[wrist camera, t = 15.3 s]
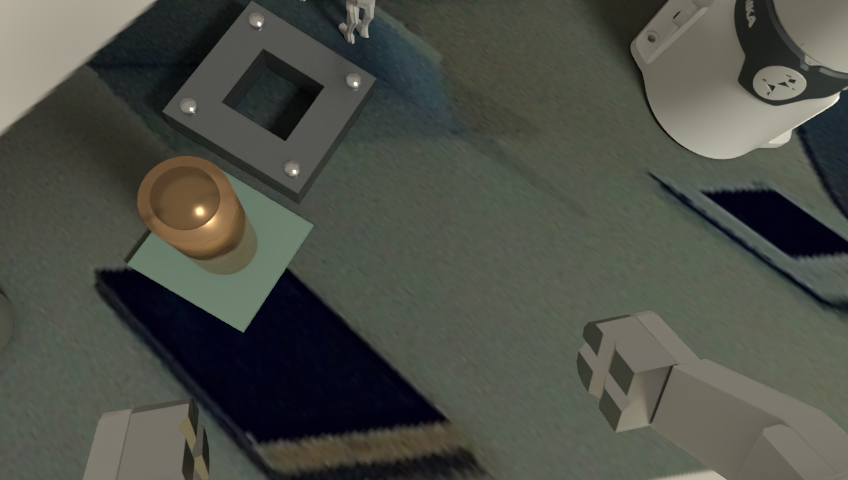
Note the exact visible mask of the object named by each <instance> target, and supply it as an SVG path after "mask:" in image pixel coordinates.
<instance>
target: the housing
mask: <svg viewBox="0 0 848 480" xmlns="http://www.w3.org/2000/svg"><path fill="white" fill-rule="evenodd" d="M266 67H267V68H268V69H270V70H271V71H273V72H275V73H276V74H278V75H280V76H281V77H283V78H284V79H286V80H288V81H289V82H291V83H293V84H294V85H296V86H297V87H299V88H301V89H302V90H304V91H306V92H307V93H309V94H310V95H312V96H314V97H315V98H316V99H315V101H314V102H313V104H312V105H311V106H310V108H309V109H308V111H307V112H306V113H305V115H304V116H303V118H302V119H301V120H300V122H299V123H298V125H297V126H296V127H295V129H294V130H293V132H292V133H291V134H290V136H289V137H288V139H287V140H286V141H284V140H282V139H281V138H279V137H277V136H276V135H274V134H272V133H271V132H269V131H268V130H266V129H264V128H263V127H261V126H259V125H258V124H256V123H254V122H253V121H251V120H249V119H248V118H246V117H245V116H243V115H241V114H240V113H238V112H236V111H235V110H234V109H235V108H236V106H237V105H238V104H239V102H240V101H241V100H242V98H243V97H244V96H245V94H246V93H247V92H248V91H249V89H250V88H251V87H252V85H253V84H254V83H255V81H256V80H257V79H258V77H259V76H260V75H261V74H262V72H263V71H264V70H265V68H266ZM375 83H376V78H375V77H373V76H372V75H370V74H368V73H367V72H365V71H364V70H362V69H360V68H359V67H357V66H356V65H354V64H352V63H351V62H349V61H348V60H346V59H344V58H343V57H341V56H340V55H338V54H336V53H335V52H333V51H332V50H330V49H328V48H327V47H325V46H324V45H322V44H320V43H319V42H317V41H316V40H314V39H312V38H311V37H309V36H308V35H306V34H304V33H303V32H301V31H300V30H298V29H296V28H295V27H293V26H292V25H290V24H288V23H287V22H285V21H284V20H282V19H280V18H279V17H277V16H276V15H274V14H272V13H271V12H269V11H268V10H266V9H264V8H263V7H261V6H259V5H258V4H256V3H255V2H253V1H251V2H250V4H249V5H248V6H247V7H246V9H245V10H244V11H243V12H242V14H241V15H240V16H239V17H238V18H237V20H236V21H235V22H234V23H233V25H232V26H231V27H230V28H229V30H228V31H227V32H226V33H225V34H224V36H223V37H222V38H221V39H220V41H219V42H218V43H217V44H216V46H215V47H214V48H213V49H212V50H211V52H210V53H209V54H208V55H207V57H206V58H205V59H204V60H203V62H202V63H201V64H200V65H199V66H198V68H197V69H196V70H195V71H194V73H193V74H192V75H191V76H190V78H189V79H188V80H187V81H186V83H185V84H184V85H183V86H182V87H181V89H180V90H179V91H178V92H177V94H176V95H175V96H174V97H173V99H172V100H171V101H170V102H169V103H168V105H167V106H166V107H165V108H164V110H163V111H162V112H163V114H164V116H165V117H166V119H167V120H168V122H169V124H170V125H171V127H172V128H173V129H175V130H177V131H178V132H180V133H182V134H183V135H185V136H187V137H188V138H190V139H192V140H193V141H195V142H197V143H198V144H200V145H202V146H203V147H205V148H207V149H208V150H210V151H212V152H213V153H215V154H217V155H218V156H220V157H222V158H223V159H225V160H227V161H228V162H230V163H232V164H233V165H235V166H236V167H238V168H240V169H241V170H243V171H245V172H246V173H248V174H250V175H251V176H253V177H255V178H256V179H258V180H260V181H261V182H263V183H265V184H266V185H268V186H270V187H271V188H273V189H275V190H276V191H278V192H280V193H281V194H283V195H285V196H286V197H288V198H290V199H291V200H293V201H295V202H296V203H298V204H299V203H300V202H301V200H302V199H303V197H304V196H305V194H306V193H307V192H308V190H309V189H310V187H311V186H312V184H313V183H314V181H315V180H316V178H317V177H318V175H319V174H320V172H321V171H322V169H323V168H324V166H325V165H326V163H327V162H328V160H329V159H330V158H331V156H332V155H333V153H334V152H335V150H336V149H337V147H338V146H339V144H340V143H341V141H342V140H343V138H344V137H345V135H346V134H347V132H348V131H349V129H350V128H351V127H352V125H353V124H354V122H355V121H356V119H357V118H358V116H359V115H360V113H361V112H362V110H363V109H364V107H365V106H366V104H367V103H368V101H369V100H370V98H371V97H372V95H373V92H374V87H375Z"/></svg>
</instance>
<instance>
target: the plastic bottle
mask: <svg viewBox="0 0 848 480" xmlns="http://www.w3.org/2000/svg"><path fill="white" fill-rule="evenodd" d="M13 328H14V315H13V310H12V308H11V305H10V303H9V302H8V300H7V299H6V298H5V297H4V296H3V295H2V294H1V293H0V353H1V352H2V350H3V349H4V348H5V346H6V345H7V343H8V341H9V339H10V337H11V335H12V331H13Z"/></svg>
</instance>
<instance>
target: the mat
mask: <svg viewBox="0 0 848 480" xmlns="http://www.w3.org/2000/svg"><path fill="white" fill-rule="evenodd" d="M222 171H223V170H222ZM223 172H224V174H225V175H226V176H227V178H228V180H229V182H230V183H231V185H232V187H233V189H234V191H235V193H236V195H237V197H238V199H239V201H240V203H241V205H242V207H243V209H244V211H245V213H246V214H247V216H248V218H249V220H250V222H251V224H252V226H253V228H254V230H255V232H256V235H257V243H258V245H257V250H256V254H255V256H254V258H253V260H252V261H251V262H250V263H249V264H248V265H247V266H246V267H245V268H244V269H242V270H241V271H239V272H236V273H234V274H229V275H217V274H213V273H210V272H208V271H206V270H204V269H203V268H201V267H200V266H198V265H197V264H196V263H194V262H193V261H192V260H190V259H189V258H188V257H186V256H185V255H183V254H182V253H181V252H179V251H178V250H177V249H175V248H174V247H172V246H171V245H170V244H168V243H167V242H166V241H164V240H163V239H161V238H160V237H159V236H157V235H156V234H155V233H153V232H151V234H150V235H149V236H148V238H147V239H146V240H145V242H144V243H143V244H142V245H141V247H140V248H139V249H138V251H137V252H136V253H135V255H134V256H133V257H132V259H131V260H130V261H129V263H128V264H127V265H128V266H130V267H132V268H133V269H135V270H137V271H139V272H140V273H142V274H144V275H145V276H147V277H149V278H151V279H152V280H154V281H156V282H157V283H159V284H161V285H163V286H164V287H166V288H168V289H169V290H171V291H173V292H175V293H176V294H178V295H180V296H181V297H183V298H185V299H187V300H188V301H190V302H192V303H194V304H195V305H197V306H199V307H200V308H202V309H204V310H206V311H207V312H209V313H211V314H212V315H214V316H216V317H218V318H219V319H221V320H223V321H224V322H226V323H228V324H230V325H231V326H233V327H235V328H236V329H238V330H240V331H242V332H244V331H245V329H246V328H247V326H248V325H249V323H250V322H251V320H252V319H253V317H254V316H255V314H256V313H257V311H258V310H259V308H260V307H261V305H262V304H263V302H264V301H265V299H266V298H267V296H268V295H269V293H270V292H271V290H272V288H273V287H274V285H275V284H276V282H277V281H278V279H279V278H280V276H281V275H282V273H283V272H284V270H285V269H286V267H287V266H288V264H289V263H290V261H291V260H292V258H293V257H294V255H295V254H296V252H297V251H298V249H299V247H300V246H301V244H302V243H303V241H304V240H305V238H306V237H307V235H308V234H309V232H310V231H311V229H312V228H313V224H311V223H309V222H308V221H306V220H304V219H303V218H301V217H299V216H298V215H296V214H294V213H293V212H291V211H289V210H288V209H286V208H284V207H283V206H281V205H279V204H278V203H276V202H274V201H273V200H271V199H269V198H268V197H266V196H264V195H263V194H261V193H259V192H258V191H256V190H254V189H253V188H251V187H250V186H248V185H246V184H245V183H243V182H241V181H240V180H238V179H236V178H235V177H233V176H231V175H230V174H228V173H226V172H225V171H223Z"/></svg>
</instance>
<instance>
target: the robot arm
mask: <svg viewBox="0 0 848 480" xmlns="http://www.w3.org/2000/svg"><path fill="white" fill-rule="evenodd" d="M648 39H649V40H650V41H651V42H650V41H649V40H648ZM630 49H631V53H632V55H633V57H634V59H635V61H636V63H637V65H638V66H639V68H640V70H641V71H642V74H643V78H644V83H645V89H646V94H647V98H648V101H649V104H650V106H651V108H652V111H653V113H654V115H655V116H656V118H657V120H658V121H659V123H660V124H661V126H662V127H663V128H664V129H665V130H666V132H667V133H668V134H669V135H670V136H671V137H672V138H673V139H675V140H676V141H677V142H678V143H680V144H681V145H682V146H684V147H685V148H687V149H689V150H691V151H692V152H695V153H697V154H699V155H702V156H705V157H709V158H716V159H729V158H735V157H738V156H741V155H744V154H746V153H748V152H749V151H751V150H754V149H756V148H776V147H780V146H781V145H783V144H785V143H786V142H788V141H789V139H790V137H791V132H792V129H794V128H795V127H797V126H799V125H800V124H802V123H804V122H805V121H807V120H809V119H810V118H812V117H814V116H815V115H817V114H819V113H820V112H822V111H824V110H825V109H827V108H828V107H830V106H832V105H833V104H835V103H836V102H837V100H838V99H839V93H840V91H842V90H846V89H848V0H668V1H667V2H666V3H665V4H664V6H663V7H662V8H661V9H660V10H659V11H658V12H657V14H656V15H655V16H654V17H653V18H652V19H651V20H650V22H649V23H648V24H647V25H646V26H645V27H644V29H643V30H642V31H641V32H640V33H639V34H638V35H637V37H636V38H635V39H634V40H633V41H632V43H631V46H630ZM582 336H583V338H584V339H585V340H586V343H585V344H584V346H583V347H582V348H581V349H580V350H579V352H578V358H577V367H578V374H579V376H580V379H581V381H582V383H583V385H584V386H585V388H586V390H587V391H588V392H589V393H591V394H592V395H594V396H596V397H598V398H599V399H600V402H599V409H600V411H601V412H602V414H603V415H604V417H605V418H606V420H607V421H608V422H609V424H610V425H611V427H612V428H613V430H614V431H615V433H616V432H621V431H626V430H630V429H635V428H640V427H645V426H649V425H651V428H652V429H654V430H655V431H657V432H658V433H660V434H661V435H663V436H664V437H666V438H667V439H668V440H670V441H671V442H673V443H674V444H676V445H677V446H679V447H680V448H682V449H683V450H685V451H686V452H687V453H689V454H690V455H692V456H693V457H695V458H696V459H698V460H699V461H701V462H702V463H704V464H705V465H706V466H708V467H709V468H711V469H712V470H714V471H715V472H717V473H718V474H720V475H721V476H723V477H724V478H725V479H727V480H848V434H847V433H845V432H844V431H843V430H842V429H841V428H840V427H839V426H838V425H837V424H836V423H835V422H834V421H833V420H831V419H830V418H829V417H828V416H827V415H826V414H825V413H824V412H823V411H820V410H818V409H816V408H814V407H812V406H809V405H807V404H805V403H803V402H801V401H798V400H796V399H794V398H792V397H790V396H787V395H785V394H783V393H781V392H778V391H776V390H774V389H772V388H770V387H767V386H765V385H763V384H761V383H759V382H756V381H754V380H752V379H750V378H748V377H745V376H743V375H741V374H739V373H736V372H734V371H732V370H730V369H728V368H725V367H723V366H721V365H719V364H717V363H714V362H712V361H710V360H708V359H703V360H700V359H699V358H698V357H697V356H696V355H695V354H694V353H693V352H692V351H691V350H690V349H689V348H688V346H687V345H686V344H685V343H684V342H683V341H682V340H681V339H680V338H679V337H678V336H677V335H676V334H675V333H674V332H673V331H672V330H671V329H670V328H669V327H668V325H667V324H666V323H665V322H664V321H663V320H662V319H661V318H660V317H659V316H658V315H657V314H656V313H654V312H652V311H650V310H649V311H643V312H638V313H633V314H629V315H623V316H618V317H613V318H608V319H603V320H598V321H593V322H588V324H587V325H586V326H585V327H584V331H583V335H582ZM198 413H199V410H198V407H197V405H196V402H195V399H193V398H189V399H183V400H177V401H171V402H165V403H159V404H153V405H147V406H141V407H135V408H132V409H126V410H120V411H114V412H108V413H104V414H103V416H102V417H101V419H100V420H99V422H98V426H97V429H96V433H95V437H94V440H93V444H92V448H91V451H90V455H89V459H88V462H87V466H86V470H85V474H84V477H83V480H206V479H207V478H208V477H209V446H208V441H207V435H206V432H205V429H204V426H202V425H200V424H199V423H198Z"/></svg>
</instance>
